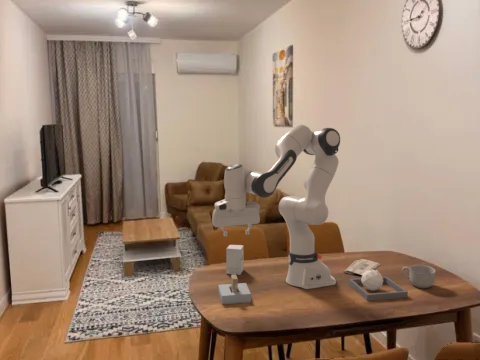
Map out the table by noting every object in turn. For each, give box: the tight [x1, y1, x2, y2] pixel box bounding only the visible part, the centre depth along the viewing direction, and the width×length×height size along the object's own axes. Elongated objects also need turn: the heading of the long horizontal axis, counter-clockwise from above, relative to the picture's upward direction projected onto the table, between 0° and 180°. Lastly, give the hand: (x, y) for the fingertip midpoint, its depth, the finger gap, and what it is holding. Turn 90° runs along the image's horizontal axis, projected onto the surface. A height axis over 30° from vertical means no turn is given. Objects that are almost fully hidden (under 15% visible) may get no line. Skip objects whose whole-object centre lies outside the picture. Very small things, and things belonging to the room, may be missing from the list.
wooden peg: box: [230, 274, 239, 293], centre depth 183 cm, size 2×5×8 cm, turn 9°
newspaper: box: [343, 258, 381, 276], centre depth 218 cm, size 23×12×2 cm, turn 143°
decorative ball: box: [361, 269, 384, 292], centre depth 191 cm, size 9×10×12 cm
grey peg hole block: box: [217, 282, 252, 305], centre depth 184 cm, size 12×12×4 cm
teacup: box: [401, 264, 437, 289], centre depth 196 cm, size 14×11×8 cm
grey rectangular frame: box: [348, 276, 409, 302], centre depth 190 cm, size 18×18×2 cm
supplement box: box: [225, 244, 245, 276], centre depth 213 cm, size 7×7×13 cm
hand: (236, 235), depth 187 cm, fingers open, 8 cm apart
